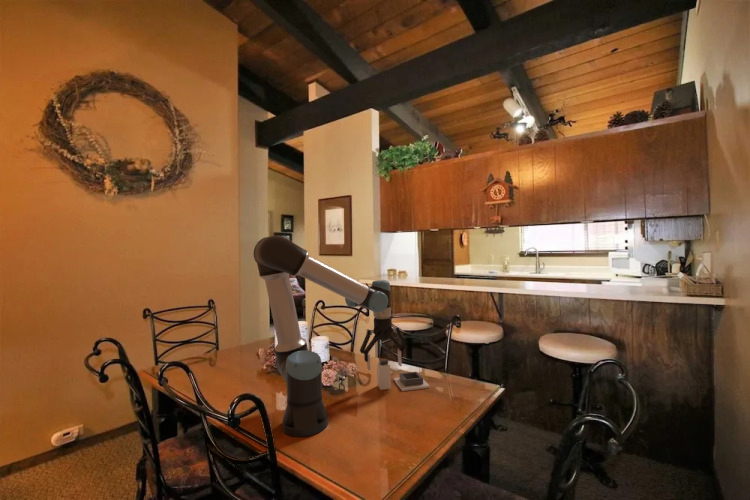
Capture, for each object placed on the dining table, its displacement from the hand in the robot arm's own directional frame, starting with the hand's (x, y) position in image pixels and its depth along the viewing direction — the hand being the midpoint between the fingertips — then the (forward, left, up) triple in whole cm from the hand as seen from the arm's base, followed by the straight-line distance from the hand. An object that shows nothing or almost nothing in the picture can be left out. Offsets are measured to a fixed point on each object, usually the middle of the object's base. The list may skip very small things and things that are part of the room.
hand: (384, 367), depth 142 cm
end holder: (+12, 0, -8) cm, 14 cm away
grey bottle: (0, 0, -8) cm, 8 cm away
